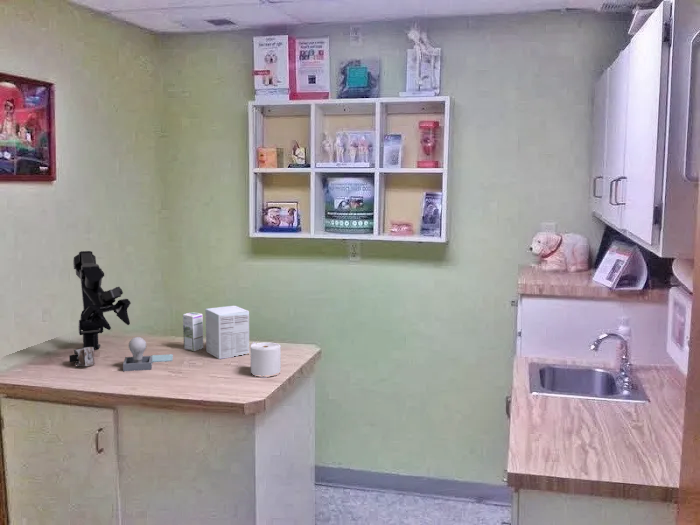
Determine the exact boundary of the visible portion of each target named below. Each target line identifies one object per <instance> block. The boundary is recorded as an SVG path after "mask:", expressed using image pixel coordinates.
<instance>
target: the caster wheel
mask: <svg viewBox="0 0 700 525" xmlns="http://www.w3.org/2000/svg"><path fill="white" fill-rule="evenodd" d="M73 353H74V354H69V356H68V358H69V363H73V362H74V366H75V365H77V366H76V367H84V366H85V367H90V366H95V365H94V364H96V363H95V350H94V348H93V347H86V348H84V349H82V348H78V349H73Z"/></svg>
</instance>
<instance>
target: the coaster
mask: <svg viewBox="0 0 700 525" xmlns="http://www.w3.org/2000/svg"><path fill="white" fill-rule="evenodd" d="M150 356H152V363H159V362H173V360H174V359H173V357H174V354H170V353H169V354H154V355H150Z"/></svg>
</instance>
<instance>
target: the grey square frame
mask: <svg viewBox="0 0 700 525" xmlns="http://www.w3.org/2000/svg"><path fill="white" fill-rule="evenodd" d="M152 367H153V362H152V356H151V355H143V357H142V363H134V359H133V356H125V357H124V360H123V363H122V371H123V372H132V371H133V372H136V371H148V370H149V371H150V370H152ZM134 370H135V371H134Z"/></svg>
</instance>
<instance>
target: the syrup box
mask: <svg viewBox="0 0 700 525" xmlns="http://www.w3.org/2000/svg"><path fill="white" fill-rule="evenodd" d="M203 320H204V319H203V313H199V312H194V311H192V312H187V313H183V314H182V325H183V326H182V327H183V331H182V332H183V349H184V350H187V351H192V352H197V351H199V349H200V350H203V349H204V322H203ZM202 348H203V349H202ZM196 350H197V351H196Z"/></svg>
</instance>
